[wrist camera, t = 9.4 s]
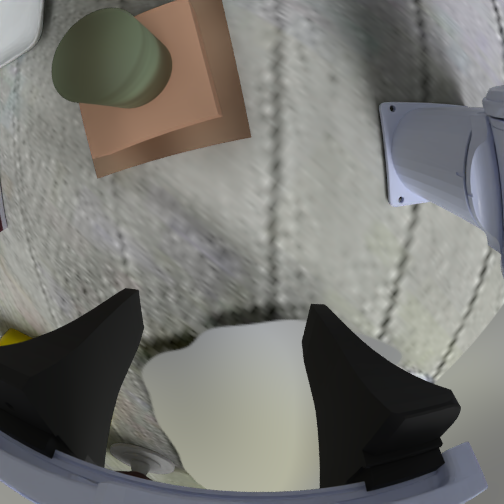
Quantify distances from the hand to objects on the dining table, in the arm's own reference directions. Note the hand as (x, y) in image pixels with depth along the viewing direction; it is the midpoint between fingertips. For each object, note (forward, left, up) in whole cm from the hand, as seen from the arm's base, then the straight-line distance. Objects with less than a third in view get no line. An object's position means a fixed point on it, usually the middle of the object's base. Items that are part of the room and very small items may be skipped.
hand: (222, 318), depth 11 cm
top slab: (+3, -12, -9) cm, 15 cm away
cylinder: (+3, -12, -6) cm, 14 cm away
